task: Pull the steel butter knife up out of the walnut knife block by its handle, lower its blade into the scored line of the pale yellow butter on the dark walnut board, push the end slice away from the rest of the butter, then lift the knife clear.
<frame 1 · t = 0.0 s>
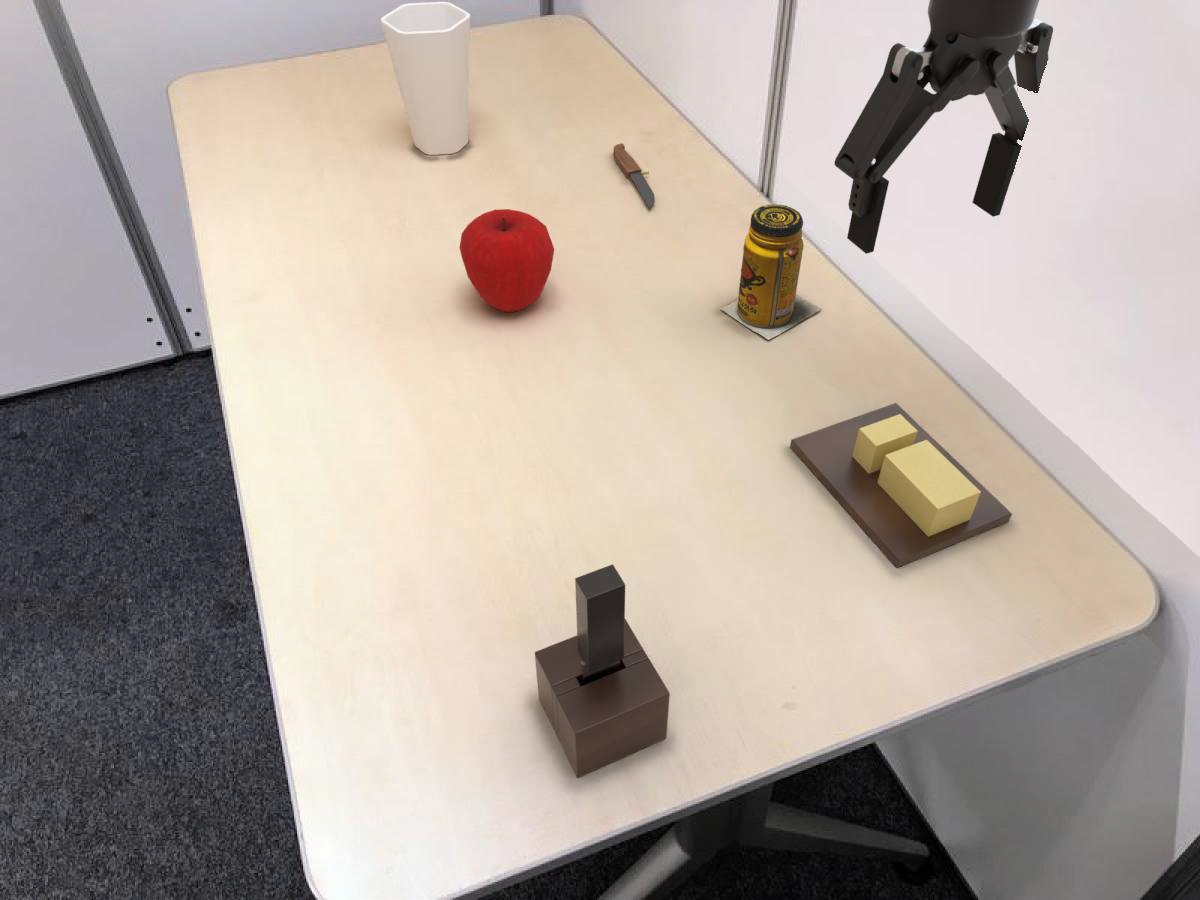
hand: (924, 226, 84), 18 cm above the table, tool pointing down, fingers open, 13 cm apart
condiment: (770, 312, 106), on the table
apple: (511, 302, 107), on the table
knife: (638, 180, 127), on the table
cup: (441, 144, 134), on the table
butter slice: (880, 457, 88), point 1 cm above the table, touching butter board
butter block: (922, 501, 84), point 1 cm above the table, touching butter board
butter knife: (600, 655, 65), in the knife block
butter board: (895, 482, 87), on the table
knife block: (601, 718, 70), on the table
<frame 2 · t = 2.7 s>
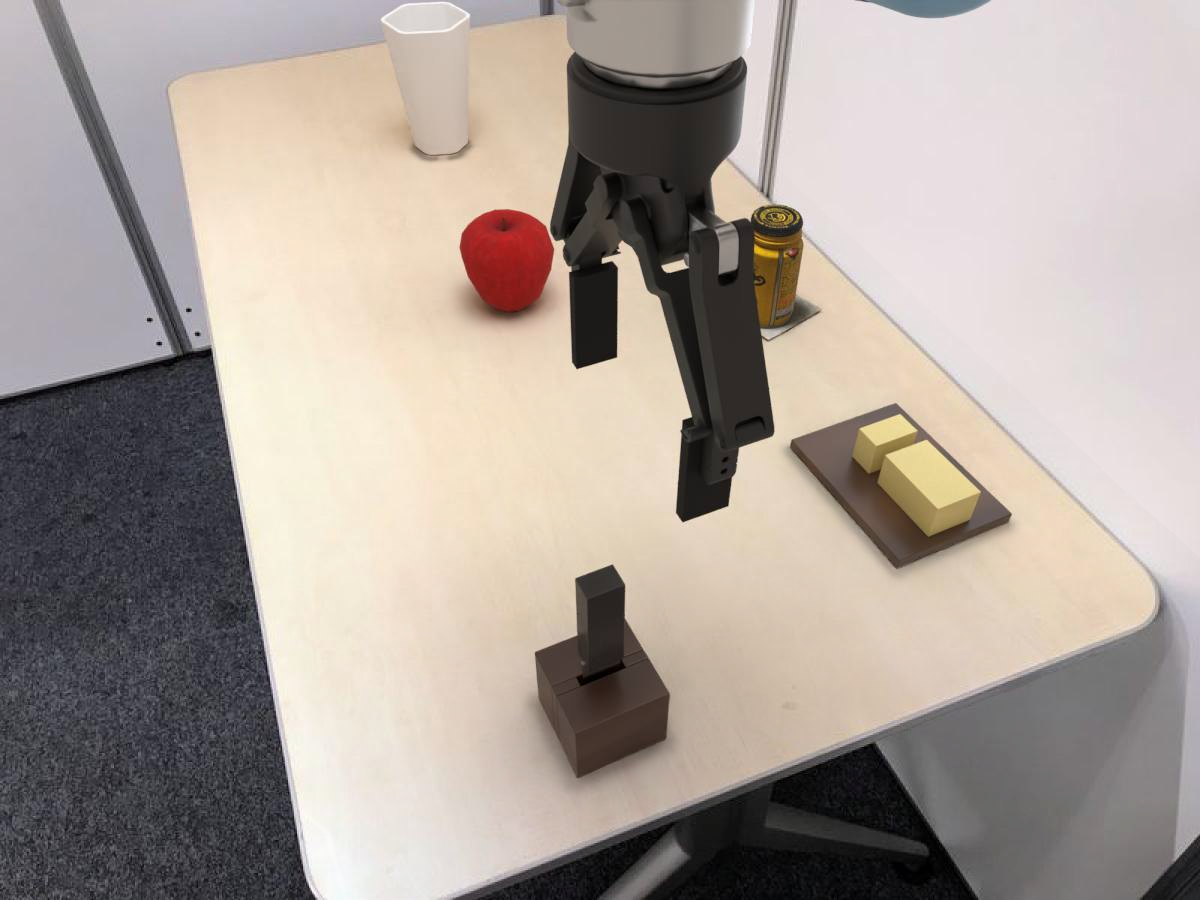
hand: (644, 429, 55), 26 cm above the table, tool pointing down, fingers open, 13 cm apart
nothing on the table moved.
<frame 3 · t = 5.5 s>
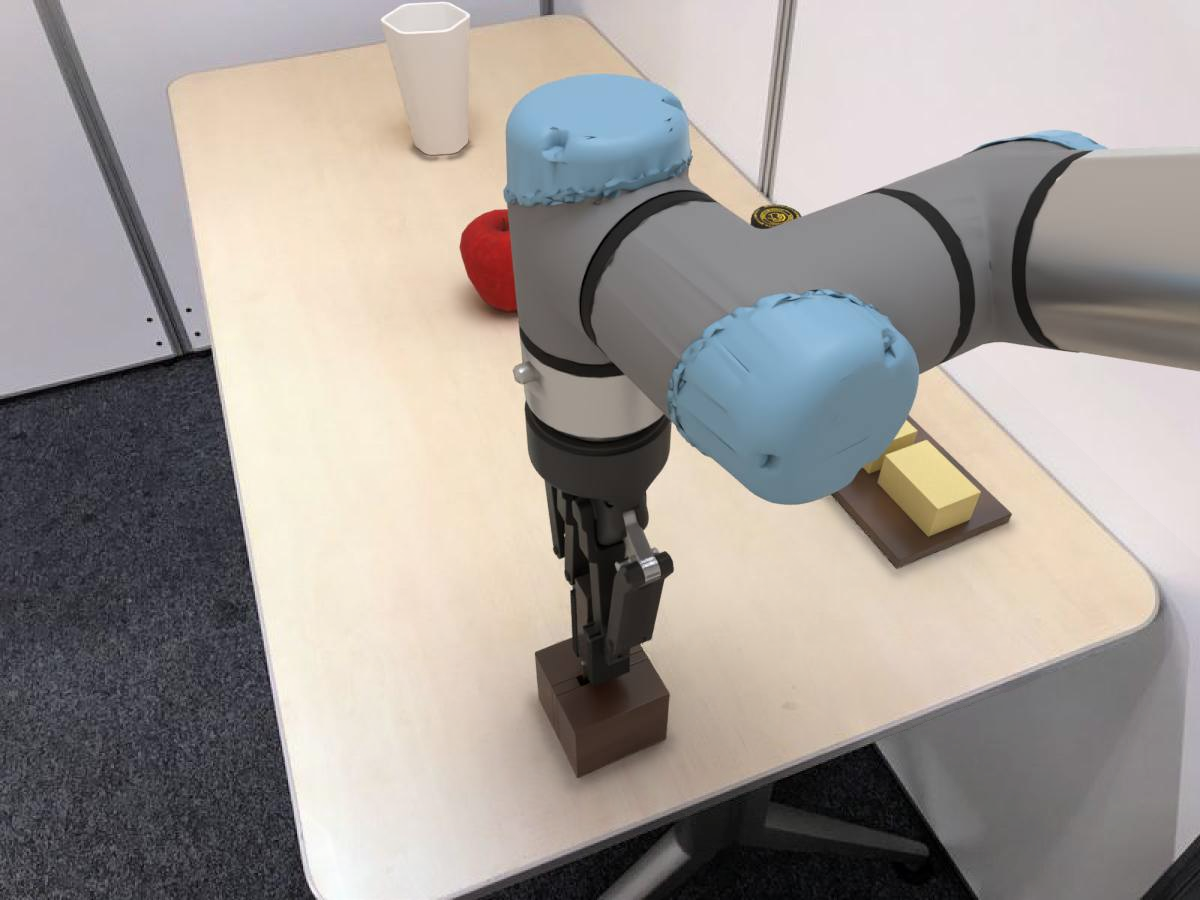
hand: (600, 659, 65), 7 cm above the table, tool pointing down, fingers closed on butter knife, 2 cm apart
butter knife: (600, 655, 65), in the knife block, touching gripper
everything else where it was.
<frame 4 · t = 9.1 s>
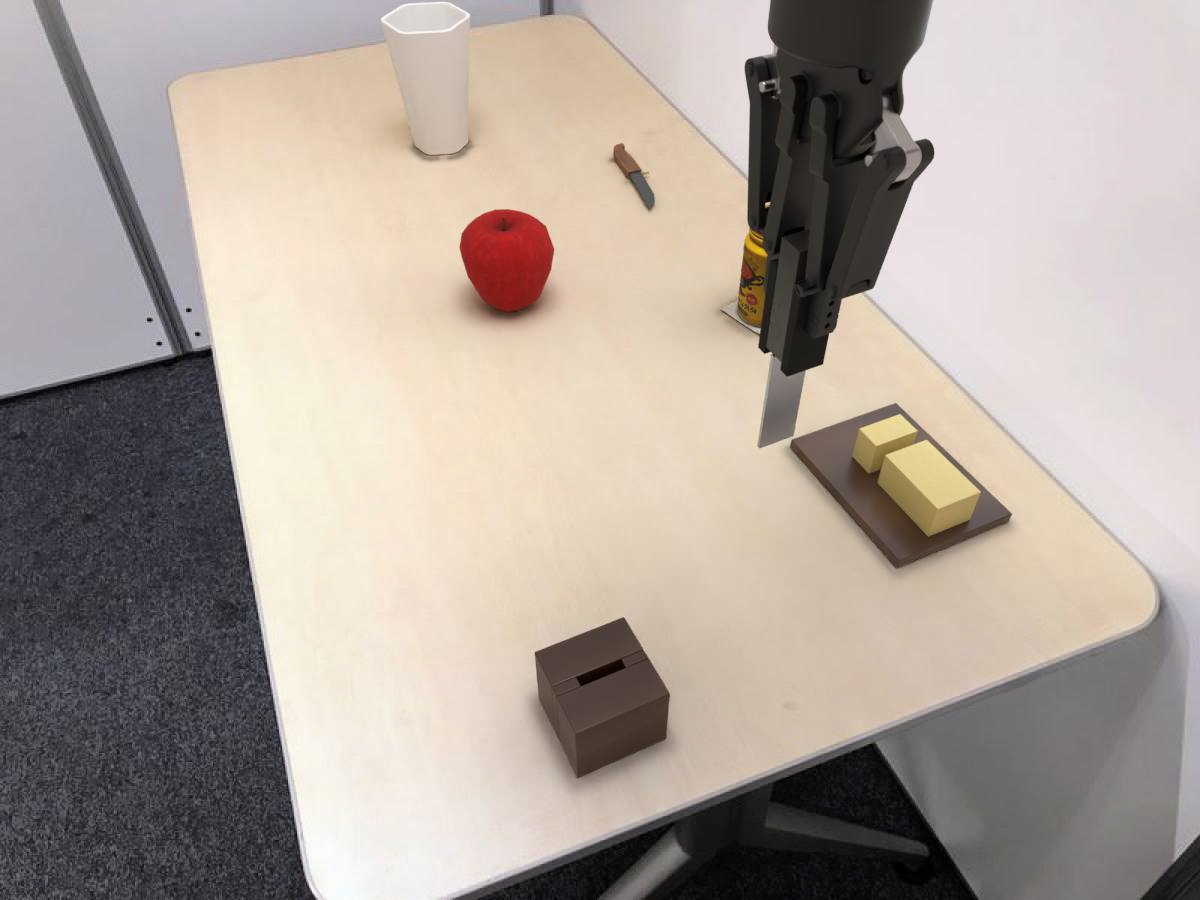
hand: (790, 355, 61), 25 cm above the table, tool pointing down, fingers closed on butter knife, 2 cm apart
butter knife: (790, 349, 61), point 25 cm above the table, touching gripper
everything else where it was.
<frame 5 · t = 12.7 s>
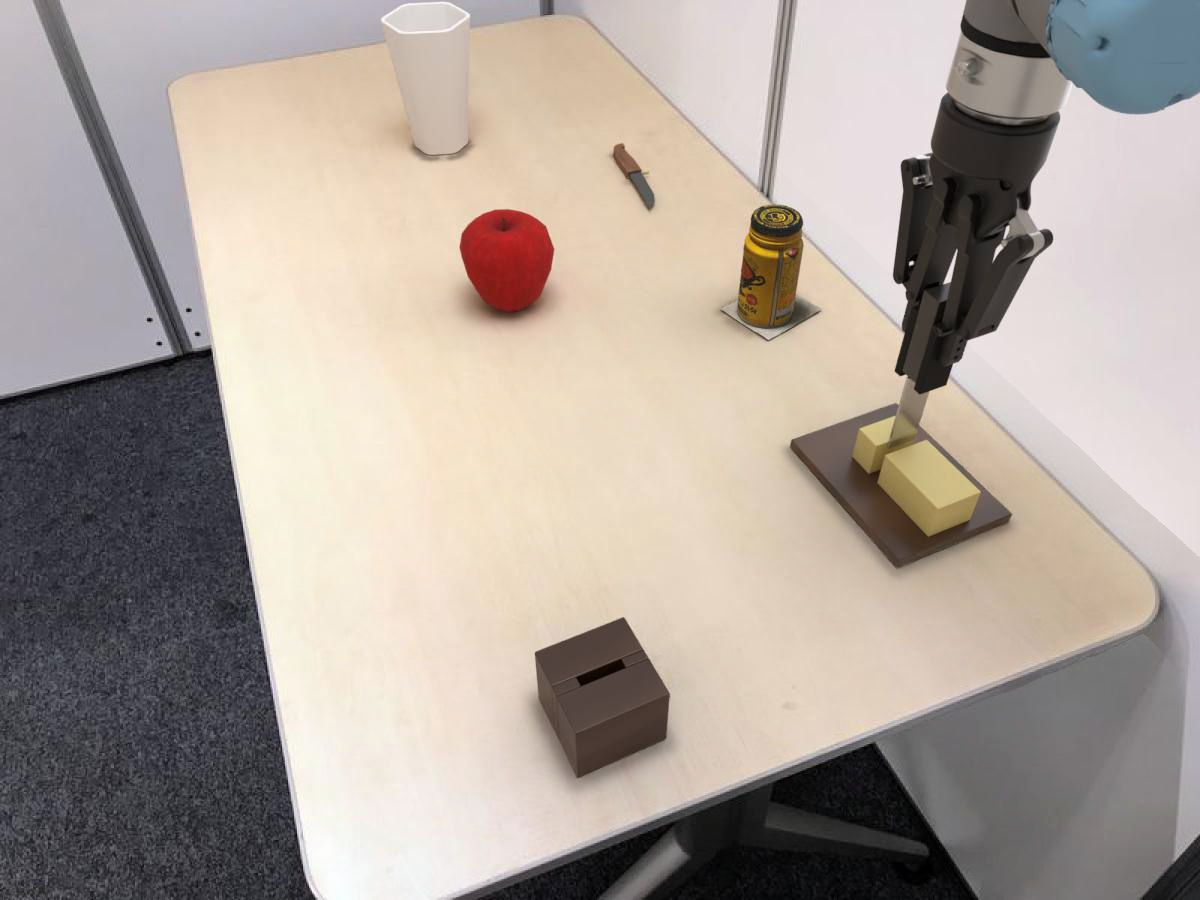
hand: (920, 377, 79), 12 cm above the table, tool pointing down, fingers closed on butter knife, 2 cm apart
butter knife: (921, 373, 79), point 12 cm above the table, touching gripper
everything else where it was.
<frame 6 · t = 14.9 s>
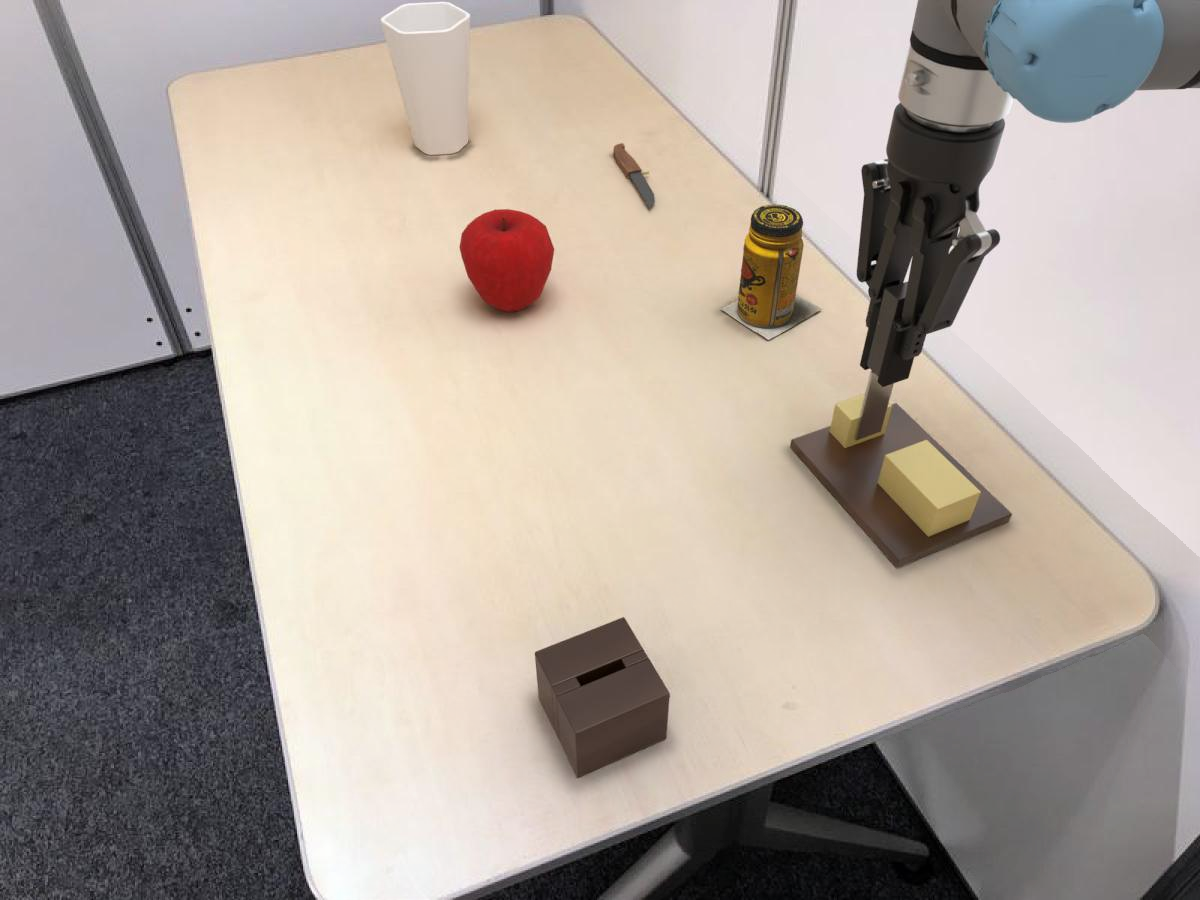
hand: (883, 371, 83), 9 cm above the table, tool pointing down, fingers closed on butter knife, 2 cm apart
butter slice: (856, 432, 90), point 1 cm above the table, touching butter board, butter knife
butter knife: (884, 367, 83), point 10 cm above the table, touching butter slice, gripper
everything else where it was.
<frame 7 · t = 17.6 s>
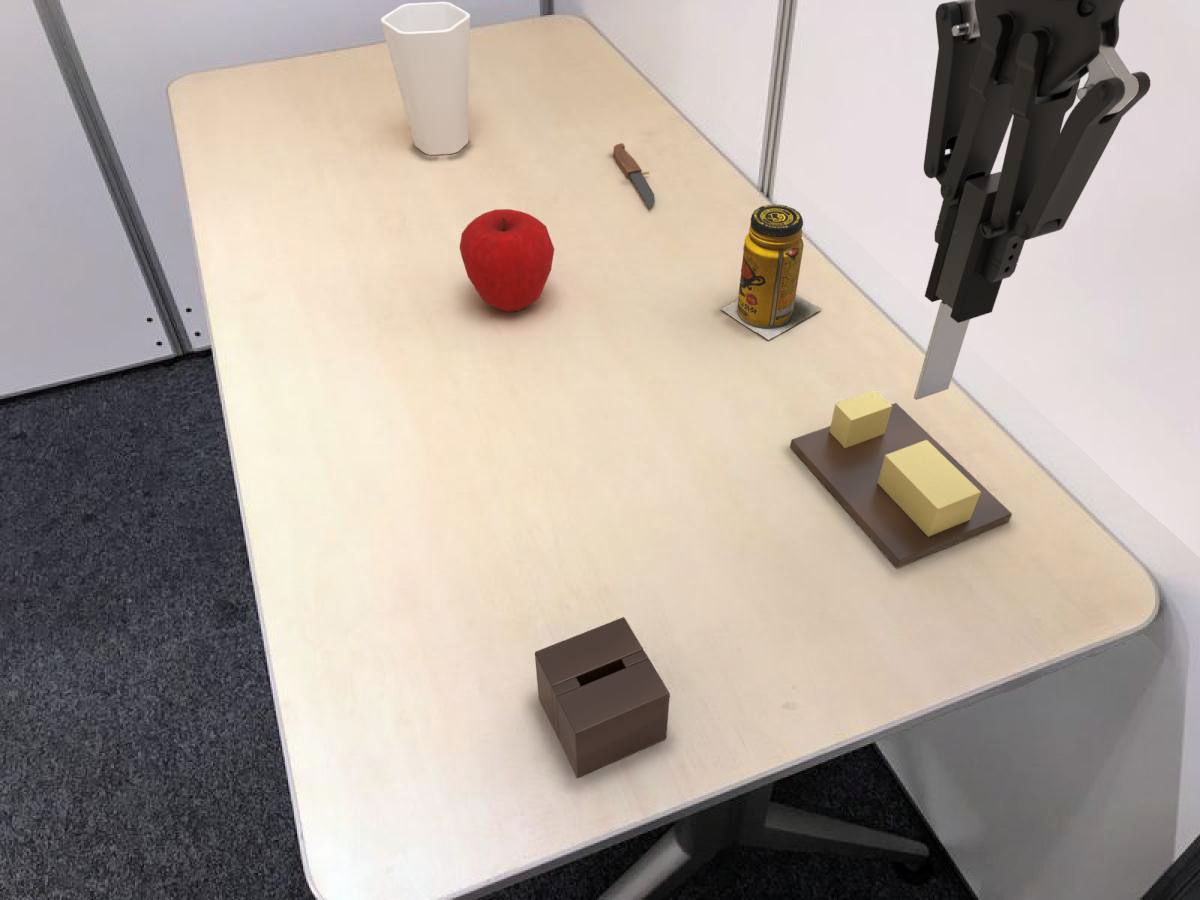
hand: (957, 303, 62), 26 cm above the table, tool pointing down, fingers closed on butter knife, 2 cm apart
butter slice: (856, 432, 90), point 1 cm above the table, touching butter board
butter knife: (959, 297, 62), point 27 cm above the table, touching gripper
everything else where it was.
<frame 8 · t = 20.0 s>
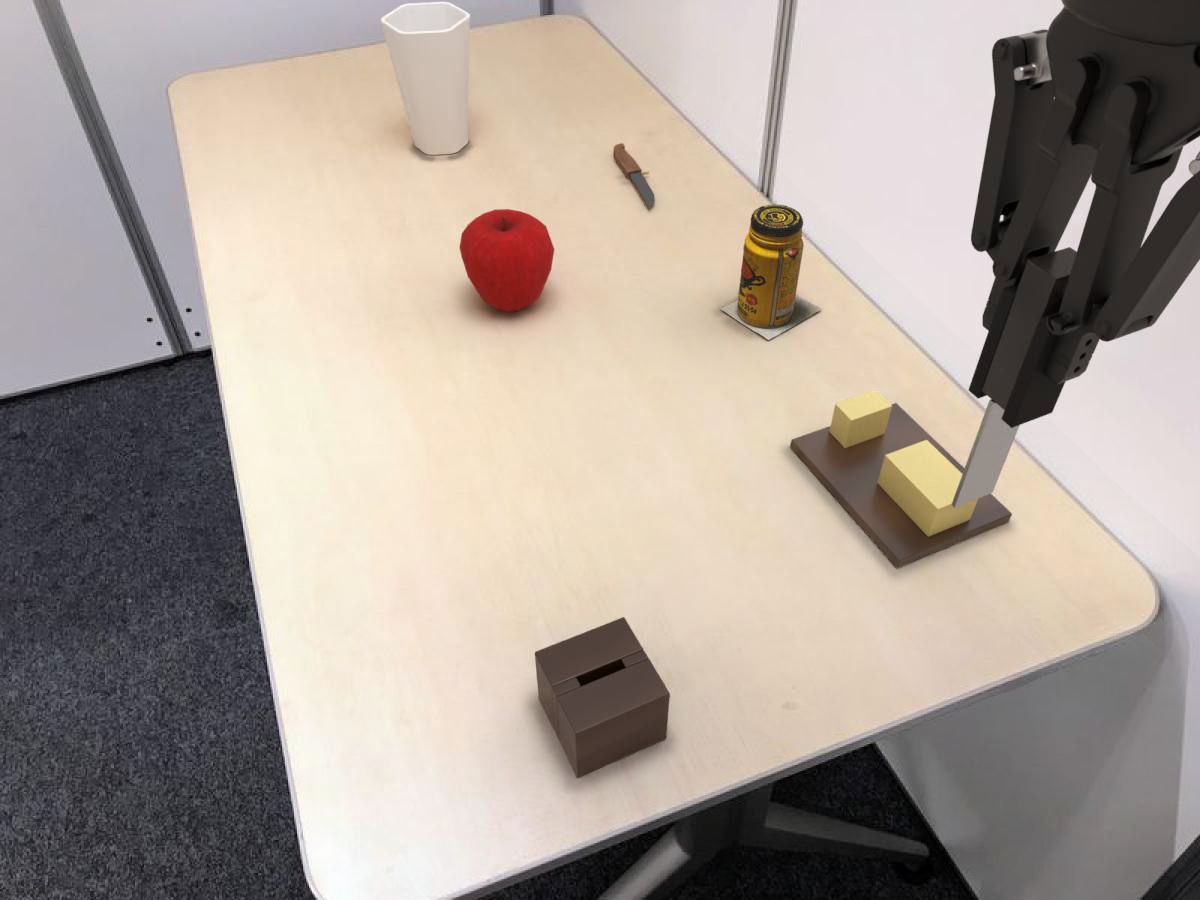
hand: (1009, 400, 51), 29 cm above the table, tool pointing down, fingers closed on butter knife, 2 cm apart
butter knife: (1012, 393, 50), point 30 cm above the table, touching gripper
everything else where it was.
at the end: butter slice 0.4 cm from the target spot on the butter board, point 1.0 cm above the butter board's base; butter block moved 0.0 cm from its start; the gripper is holding butter knife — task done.
